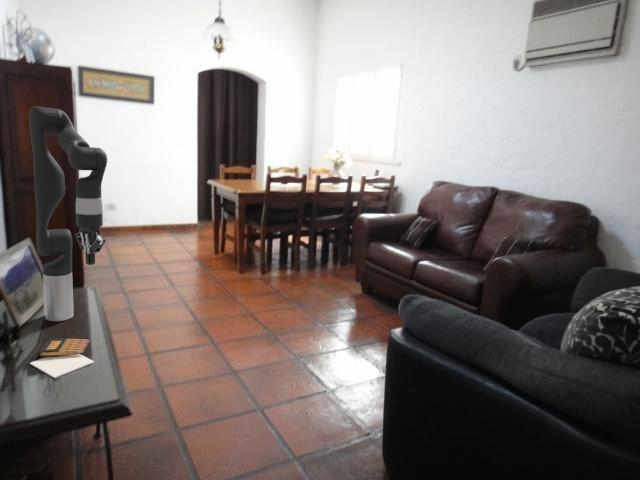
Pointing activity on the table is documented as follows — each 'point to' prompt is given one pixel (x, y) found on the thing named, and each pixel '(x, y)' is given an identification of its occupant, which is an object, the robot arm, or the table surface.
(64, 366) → the mat
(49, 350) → the ammunition clip
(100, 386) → the table surface
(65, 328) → the table surface
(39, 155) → the robot arm
